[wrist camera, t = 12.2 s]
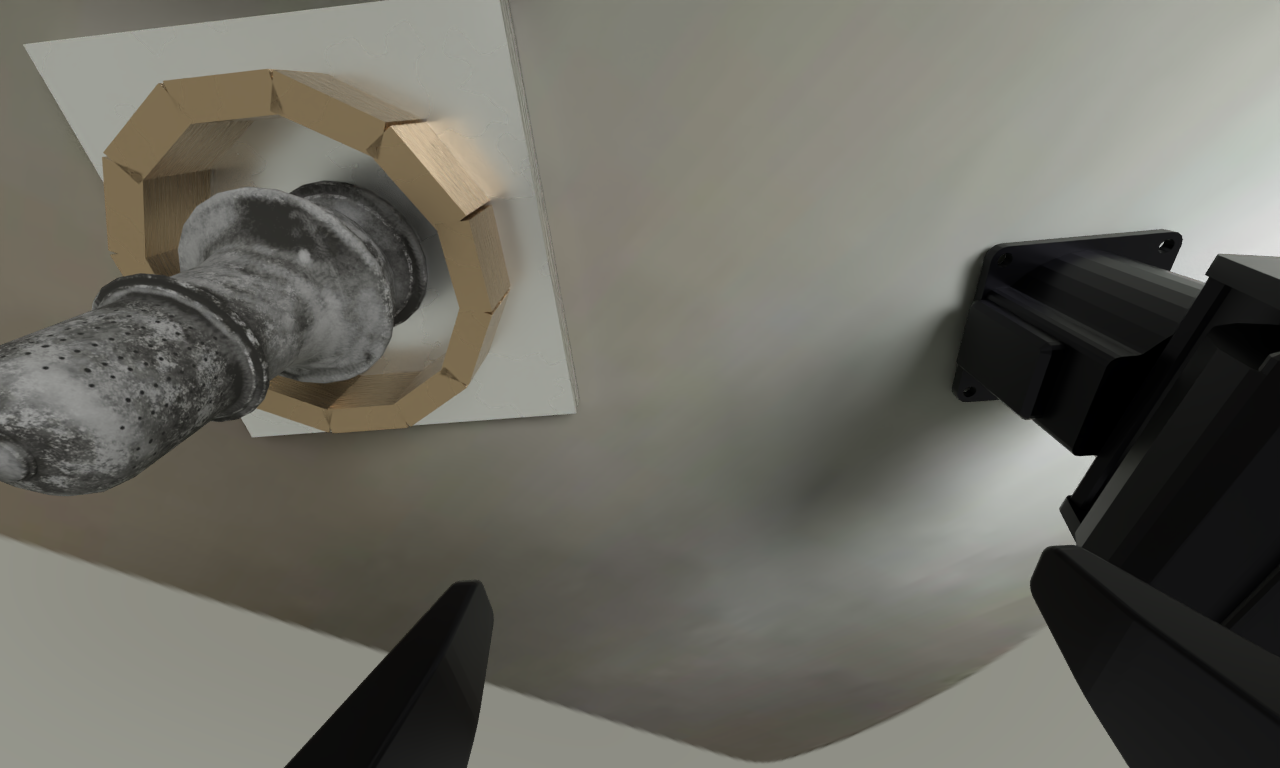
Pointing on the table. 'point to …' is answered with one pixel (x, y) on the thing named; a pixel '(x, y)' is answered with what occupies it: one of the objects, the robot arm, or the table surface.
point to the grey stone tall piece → (208, 333)
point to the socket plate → (356, 154)
